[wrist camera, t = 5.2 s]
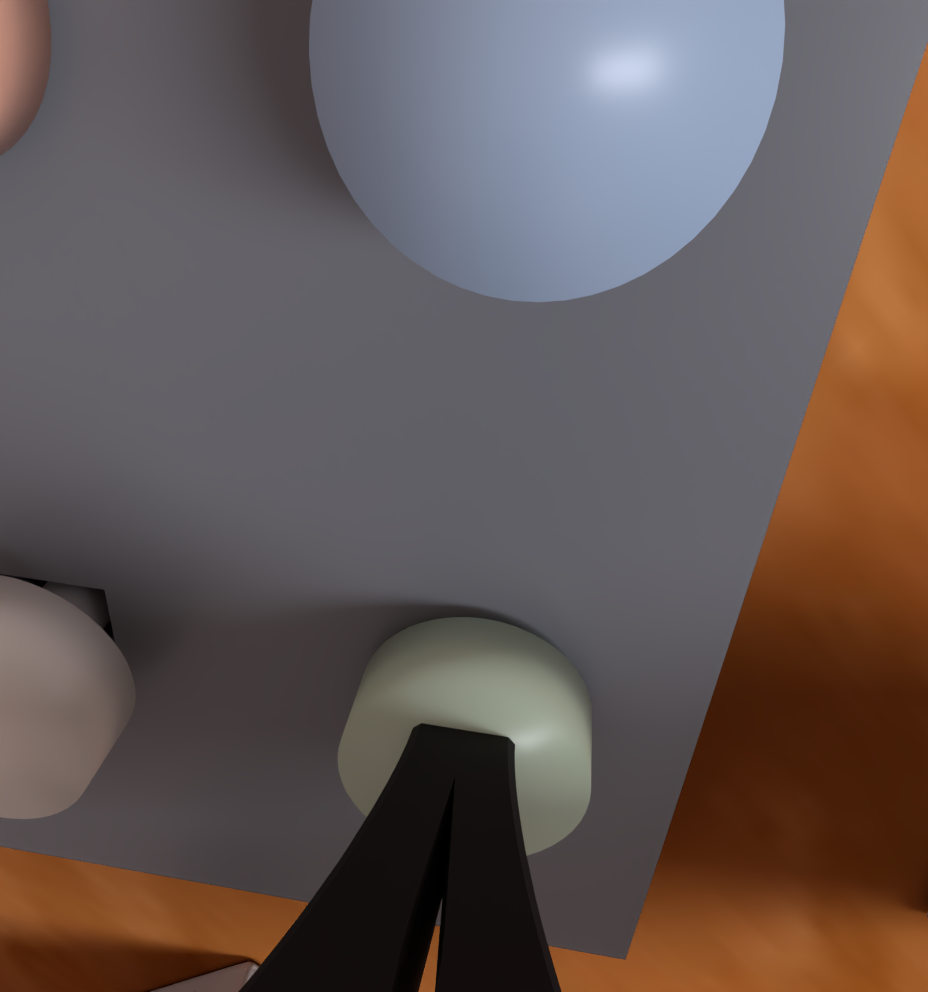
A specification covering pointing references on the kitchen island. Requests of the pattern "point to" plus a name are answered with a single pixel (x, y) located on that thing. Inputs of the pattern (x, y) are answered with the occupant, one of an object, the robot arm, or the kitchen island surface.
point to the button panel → (389, 436)
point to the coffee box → (216, 980)
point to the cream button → (56, 694)
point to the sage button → (477, 715)
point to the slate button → (543, 129)
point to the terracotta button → (22, 65)
